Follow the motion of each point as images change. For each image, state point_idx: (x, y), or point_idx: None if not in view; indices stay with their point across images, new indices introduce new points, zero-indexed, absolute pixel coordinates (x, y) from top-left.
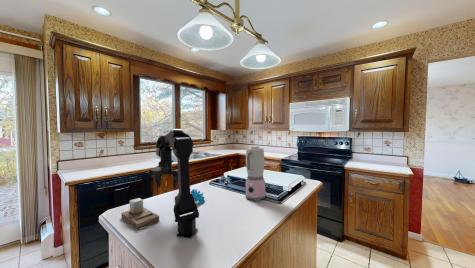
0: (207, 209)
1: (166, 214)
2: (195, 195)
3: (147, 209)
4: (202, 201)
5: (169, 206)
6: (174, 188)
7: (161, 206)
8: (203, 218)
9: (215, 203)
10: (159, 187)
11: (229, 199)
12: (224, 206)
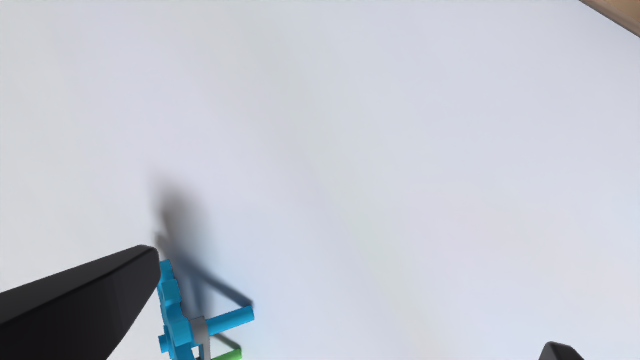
0: (74, 176)
1: (350, 43)
2: (169, 330)
3: (627, 11)
4: (158, 292)
5: (417, 231)
6: (131, 248)
7: (511, 232)
8: (4, 13)
9: None
10: (547, 352)
11: None
12: (9, 226)
